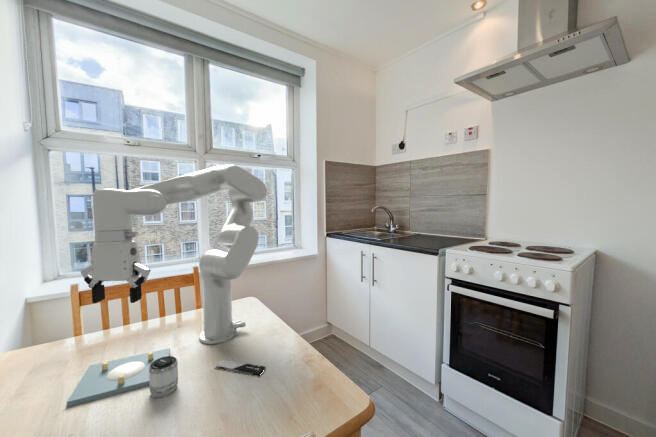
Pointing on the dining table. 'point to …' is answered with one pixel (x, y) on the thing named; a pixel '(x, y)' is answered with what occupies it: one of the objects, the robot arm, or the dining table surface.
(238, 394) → the dining table surface
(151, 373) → the camera lens
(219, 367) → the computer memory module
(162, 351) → the pin board
